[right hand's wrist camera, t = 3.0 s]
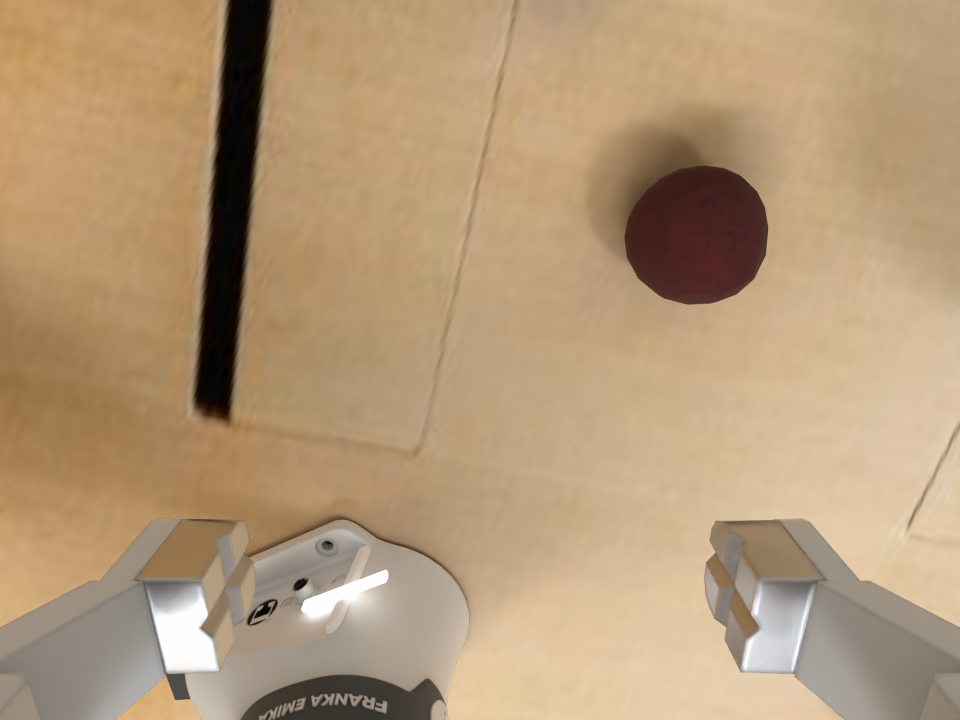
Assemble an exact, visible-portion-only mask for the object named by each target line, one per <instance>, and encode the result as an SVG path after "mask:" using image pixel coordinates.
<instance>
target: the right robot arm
mask: <svg viewBox="0 0 960 720" xmlns="http://www.w3.org/2000/svg"><path fill="white" fill-rule="evenodd" d="M325 541H330V542H332V543H333V544H327V543H326V542H325ZM249 542H250V537H249V532H248V527H247V524H246V523H245V522H244V521H242V520H207V519H186V520H184V519H157V520H154V521H151V522H150V523H149V524H148V525H147V526H146V527H145V529H144V530H143V531H142V532H141V533H140V534H139V536H138V537H137V538H136V539H135V540H134V541H133V543H132V544H131V545H130V546H129V547H128V548H127V550H126V551H125V552H124V553H123V554H122V555H121V557H120V558H119V559H118V560H117V561H116V562H115V564H114V565H113V566H112V567H111V568H110V569H109V571H108V572H107V573H106V574H105V575H104V576H103V578H102V579H101V580H100V581H89V582H87V583H85V584H83V585H81V586H79V587H78V588H76V589H74V590H72V591H70V592H68V593H66V594H64V595H62V596H60V597H58V598H56V599H54V600H52V601H50V602H49V603H47V604H45V605H43V606H41V607H39V608H37V609H35V610H33V611H31V612H29V613H27V614H25V615H23V616H21V617H20V618H18V619H16V620H14V621H12V622H10V623H8V624H6V625H4V626H2V627H0V720H116V719H117V718H118V717H119V716H120V715H121V714H123V713H124V712H125V711H126V710H127V709H128V708H130V707H131V706H132V705H133V704H134V703H135V702H137V701H138V700H139V699H140V698H141V697H143V696H144V695H145V694H146V693H147V692H148V691H150V690H151V689H152V688H153V687H154V686H155V685H157V684H158V683H159V682H160V681H161V680H162V679H164V678H165V674H166V676H167V679H168V682H169V684H170V687H171V690H172V692H173V695H174V698H175V700H183V699H191V701H192V704H193V706H194V708H195V711H196V712H197V714H198V716H199V718H200V720H449V718H448V712H447V702H448V697H449V692H450V687H451V682H452V678H453V674H454V670H455V666H456V663H457V660H458V657H459V654H460V652H461V649H462V647H463V645H464V643H465V640H466V637H467V634H468V629H469V611H468V606H467V602H466V599H465V597H464V595H463V593H462V591H461V589H460V587H459V586H458V584H457V583H456V581H455V580H454V579H453V578H452V576H451V575H450V574H449V573H448V572H447V571H446V570H445V569H443V568H442V567H441V566H440V565H439V564H437V563H436V562H434V561H433V560H431V559H430V558H428V557H426V556H424V555H422V554H420V553H418V552H416V551H413V550H411V549H408V548H405V547H402V546H398V545H394V544H391V543H387V542H385V541H382V540H380V539H377V538H376V537H374V536H373V535H372V534H370V533H369V532H368V531H366V530H365V529H363V528H362V527H360V526H359V525H357V524H355V523H353V522H351V521H348V520H336V521H333V522H330V523H328V524H326V525H323V526H321V527H319V528H316V529H314V530H312V531H309V532H307V533H305V534H303V535H300V536H298V537H296V538H293V539H291V540H289V541H286V542H284V543H282V544H279V545H277V546H275V547H272V548H270V549H268V550H265V551H263V552H261V553H258V554H256V555H254V556H251V557H248V556H247V555H246V554H245V553H244V552H245V550H246V548H247V546H248V544H249ZM710 542H711V544H712V546H713V548H714V550H715V552H716V553H715V554H714V555H713V556H712V557H711V558H710V559H709V560H708V561H707V562H706V568H705V577H704V581H705V592H706V598H707V601H708V605H709V608H710V610H711V612H712V614H713V616H714V619H716V620H717V621H718V622H720V623H721V624H723V625H724V626H725V627H727V628H726V634H725V641H726V643H727V645H728V647H729V649H730V651H731V653H732V656H733V658H734V660H735V662H736V664H737V666H738V668H739V670H740V672H743V673H778V674H795V676H794V677H796V678H797V679H798V680H799V681H800V682H801V683H803V684H804V685H805V686H806V687H807V688H808V689H810V690H811V691H812V692H813V693H814V694H815V695H817V696H818V697H819V698H820V699H821V700H822V701H824V702H825V703H826V704H827V705H828V706H829V707H831V708H832V709H833V710H834V711H835V712H836V713H838V714H839V715H840V716H841V717H842V718H843V719H845V720H960V627H958V626H956V625H954V624H952V623H950V622H948V621H946V620H944V619H942V618H940V617H938V616H936V615H934V614H933V613H931V612H929V611H927V610H925V609H923V608H921V607H919V606H917V605H915V604H913V603H911V602H909V601H907V600H906V599H904V598H902V597H900V596H898V595H896V594H894V593H892V592H890V591H888V590H886V589H884V588H882V587H880V586H879V585H877V584H875V583H873V582H871V581H860V580H859V579H858V578H857V576H856V575H855V574H854V573H853V572H852V571H851V569H850V568H849V567H848V566H847V565H846V564H845V562H844V561H843V560H842V559H841V558H840V557H839V555H838V554H837V553H836V552H835V551H834V550H833V548H832V547H831V546H830V545H829V544H828V543H827V541H826V540H825V539H824V538H823V537H822V536H821V535H820V533H819V532H818V531H817V530H816V529H815V528H814V526H813V525H812V524H811V523H810V522H809V521H807V520H805V519H774V520H752V521H715V523H714V525H713V527H712V530H711V536H710Z"/></svg>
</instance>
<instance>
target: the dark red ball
mask: <svg viewBox="0 0 960 720" xmlns="http://www.w3.org/2000/svg"><path fill="white" fill-rule="evenodd" d="M767 235H768V224H767V218H766V212H765V206H764V205H763V203H762V201H761V199H760V197H759V195H758V193H757V191H756V190H755V189H754V188H753V187H752V186H751V185H750V184H749V183H748V182H747V181H746V180H745V179H743V178H742V177H741V176H740V175H738V174H736V173H733V172H731V171H729V170H726V169H724V168H718V167H710V166H697V167H690V168H684V169H679V170H677V171H675V172H673V173H671V174H669V175H667V176H665V177H663V178H661V179H660V180H659V181H657V182H656V183H655V184H654V185H653V186H652V187H650V188H649V189H648V190H647V191H646V192H645V194H644V195H643V196H642V197H641V198H640V200H639V201H638V202H637V203H636V205H635V207H634V209H633V211H632V212H631V214H630V216H629V218H628V223H627V227H626V232H625V244H626V253H627V258H628V260H629V262H630V264H631V266H632V268H633V269H634V271H635V273H636V275H637V277H638V279H640V280H641V281H642V282H643V283H644V284H646V285H647V286H648V287H649V288H651V289H652V290H653V291H654V292H656V293H657V294H658V295H659V296H661V297H663V298H665V299H668V300H672V301H676V302H680V303H684V304H709V303H714V302H717V301H720V300H723V299H725V298H728V297H731V296H733V295H736V294H737V293H739V292H740V291H741V290H742V289H743V288H744V287H745V286H747V285H748V284H749V283H750V282H751V281H752V280H753V279H754V278H755V276H756V274H757V272H758V270H759V268H760V266H761V264H762V262H763V260H764V257H765V255H766V246H767Z"/></svg>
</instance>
